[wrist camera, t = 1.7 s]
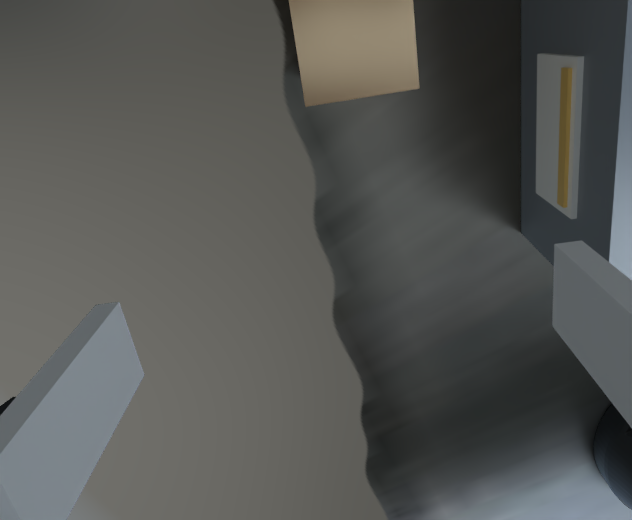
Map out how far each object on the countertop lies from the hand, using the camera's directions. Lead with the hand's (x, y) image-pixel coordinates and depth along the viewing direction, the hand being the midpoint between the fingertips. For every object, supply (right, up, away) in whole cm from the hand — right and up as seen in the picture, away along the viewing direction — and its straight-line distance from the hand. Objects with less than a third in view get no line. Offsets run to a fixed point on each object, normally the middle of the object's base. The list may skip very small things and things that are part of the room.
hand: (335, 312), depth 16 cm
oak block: (+1, +17, +15) cm, 23 cm away
